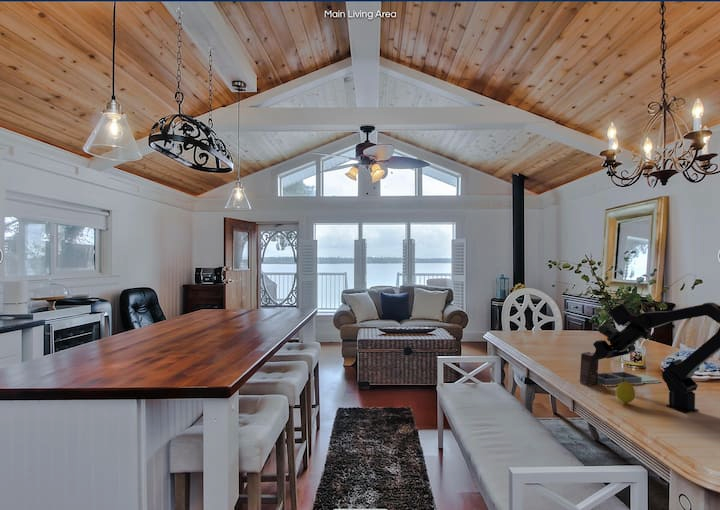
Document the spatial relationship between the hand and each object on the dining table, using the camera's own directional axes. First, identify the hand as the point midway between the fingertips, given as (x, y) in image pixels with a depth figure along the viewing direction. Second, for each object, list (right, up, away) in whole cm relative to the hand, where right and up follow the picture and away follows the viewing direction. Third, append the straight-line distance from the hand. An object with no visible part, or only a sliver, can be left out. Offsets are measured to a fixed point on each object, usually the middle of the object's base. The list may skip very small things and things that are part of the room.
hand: (599, 358), depth 168 cm
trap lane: (+15, -11, +8) cm, 20 cm away
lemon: (-2, -11, -20) cm, 23 cm away
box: (-2, -11, +4) cm, 12 cm away
